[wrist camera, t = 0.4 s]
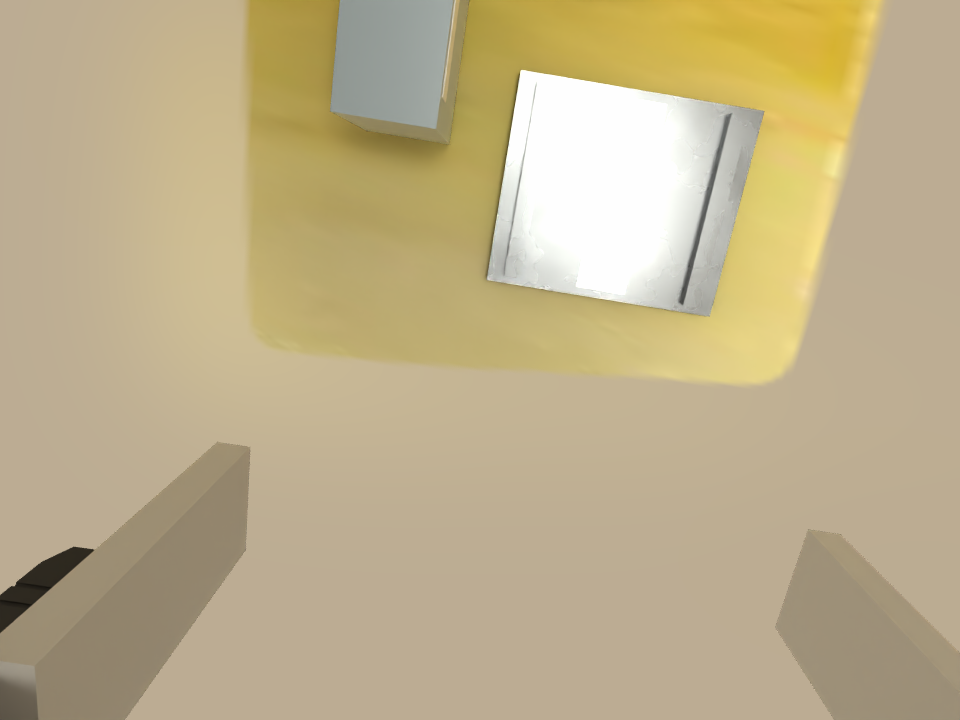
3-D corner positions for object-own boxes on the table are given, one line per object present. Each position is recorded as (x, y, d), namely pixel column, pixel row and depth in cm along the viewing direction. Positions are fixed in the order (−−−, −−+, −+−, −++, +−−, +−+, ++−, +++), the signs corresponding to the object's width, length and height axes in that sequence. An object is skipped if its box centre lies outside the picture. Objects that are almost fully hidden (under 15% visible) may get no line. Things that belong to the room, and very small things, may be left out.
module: (383, -40, 33) (348, -113, 25) (473, -24, 33) (466, -93, 25) (365, 130, 35) (328, 110, 28) (450, 144, 36) (437, 129, 28)
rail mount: (520, 72, 34) (521, 67, 33) (758, 113, 34) (769, 109, 33) (486, 278, 37) (486, 281, 36) (705, 314, 38) (713, 318, 36)
